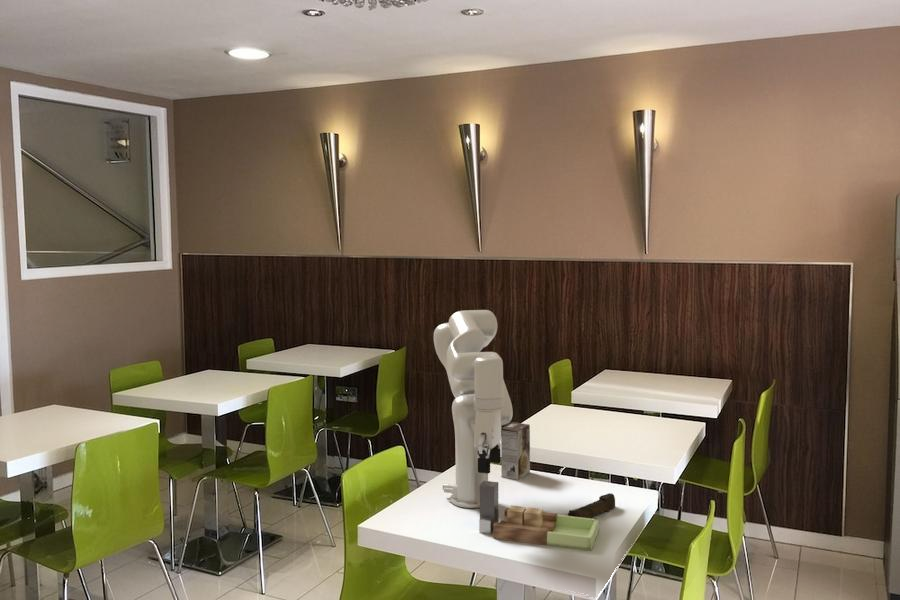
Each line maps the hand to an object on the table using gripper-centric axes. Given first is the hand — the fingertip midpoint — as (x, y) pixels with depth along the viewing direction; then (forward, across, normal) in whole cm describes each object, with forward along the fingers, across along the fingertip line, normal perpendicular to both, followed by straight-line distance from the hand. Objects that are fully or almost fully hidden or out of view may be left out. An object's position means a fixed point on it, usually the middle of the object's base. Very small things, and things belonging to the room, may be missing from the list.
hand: (489, 467), depth 202 cm
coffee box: (+16, -47, -5) cm, 50 cm away
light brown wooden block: (+15, -1, +12) cm, 19 cm away
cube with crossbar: (+16, -1, 0) cm, 17 cm away
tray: (+17, -1, +22) cm, 28 cm away
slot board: (+17, -1, +10) cm, 19 cm away
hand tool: (+17, -19, +24) cm, 35 cm away
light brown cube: (+14, -1, +7) cm, 16 cm away
